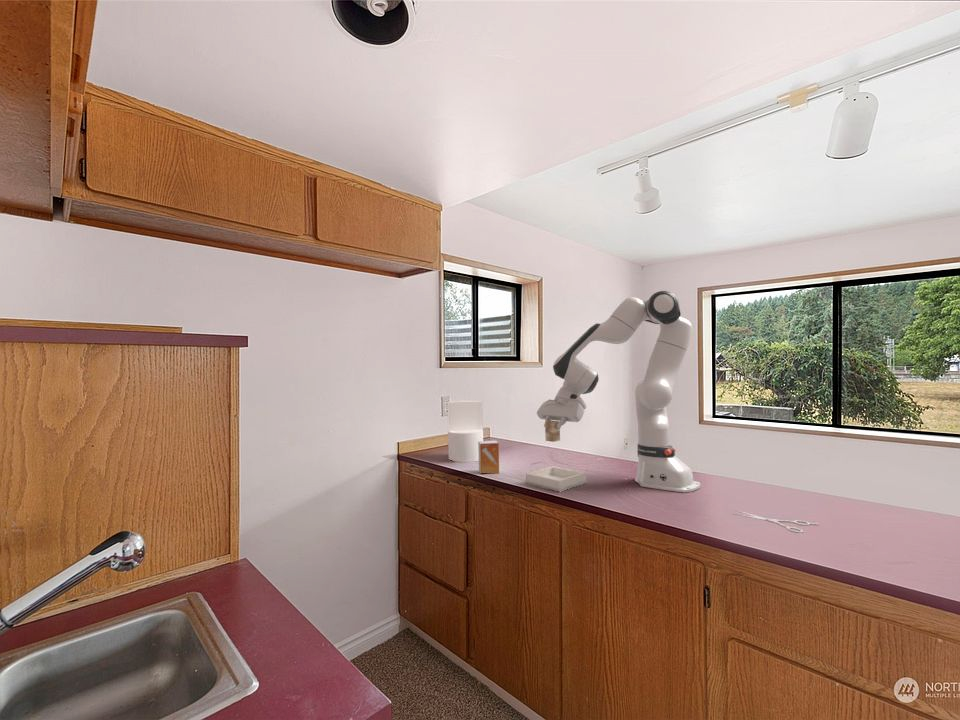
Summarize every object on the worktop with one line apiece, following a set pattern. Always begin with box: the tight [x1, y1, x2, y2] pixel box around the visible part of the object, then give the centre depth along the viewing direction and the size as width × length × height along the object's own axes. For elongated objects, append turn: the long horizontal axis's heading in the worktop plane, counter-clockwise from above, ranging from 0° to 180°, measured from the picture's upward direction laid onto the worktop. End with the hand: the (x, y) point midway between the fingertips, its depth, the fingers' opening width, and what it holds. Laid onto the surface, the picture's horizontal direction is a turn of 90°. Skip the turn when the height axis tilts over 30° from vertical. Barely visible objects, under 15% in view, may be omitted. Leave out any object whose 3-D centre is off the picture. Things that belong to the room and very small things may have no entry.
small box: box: [478, 440, 500, 474], centre depth 189 cm, size 8×6×13 cm
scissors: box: [735, 510, 819, 534], centre depth 125 cm, size 11×1×20 cm
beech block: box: [544, 420, 561, 443], centre depth 173 cm, size 4×4×8 cm
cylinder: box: [446, 399, 484, 463], centre depth 217 cm, size 17×17×28 cm
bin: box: [525, 465, 587, 493], centre depth 168 cm, size 16×16×4 cm
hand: (551, 427), depth 173 cm, fingers closed on beech block, 4 cm apart
